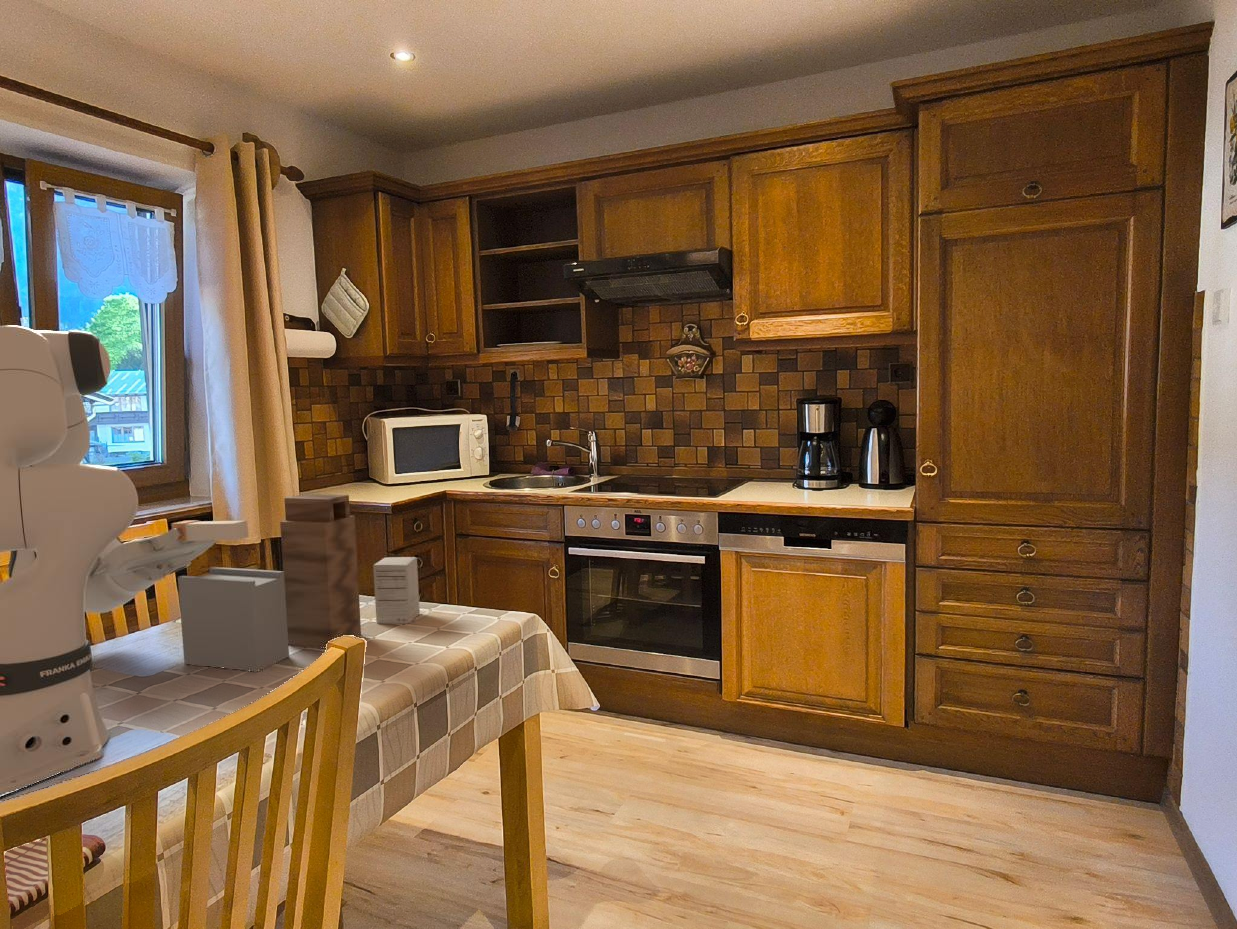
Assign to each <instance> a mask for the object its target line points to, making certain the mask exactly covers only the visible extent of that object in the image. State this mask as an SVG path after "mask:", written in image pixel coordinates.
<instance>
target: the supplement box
mask: <svg viewBox="0 0 1237 929" xmlns="http://www.w3.org/2000/svg"><path fill="white" fill-rule="evenodd" d="M372 565H373V568H372V569H373V581H374V582H373V583H374V584H373V585H374V601H375V616H376V617H375V618H376V620H375V621H376V623H377V624H411V622H412V621H413V620H414V619H415V618H416V617H417V616H418V615H419V614H420V595H419V594H420V592H419V578H418V577H419V576H418V575H419V574H418V573H419V572H418V558H417V557H415V556H398V557H397V556H396V557H395V556H393V557H392V556H391V557H383V558H382V559H381V560H379V561H377V562H376V563H374V564H372Z"/></svg>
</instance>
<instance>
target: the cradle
mask: <svg viewBox="0 0 1237 929" xmlns="http://www.w3.org/2000/svg"><path fill="white" fill-rule="evenodd" d="M208 570H209V573H207V574H206V573H205V574H203V575H200V576H193V575H191V576H190V575H179V576H177V584H178V596H179V599H178V600H179V608H180V611H179V613H180V625H181V634H182V635H181V637H182V650H183V663H184V665H187V664H192V665H191V666H196V665H197V666H199V667H205V666H211V667H210V668H214V667H224V668H230V669H229V670H232V669H239V670H238V671H241V670H248V671H247V672H250V671H255V672H254V673H258V672H259V671H258V670H261V669H263V668H265V667H267V668H269V667H271V666H273V665H275V664H276V663H275V662H277V663H279V662H281V660H282V661H284V660H286V659H288V658H290V649H289V646H290V645H288V629H287V614H286V598H285V582H284V571H283V570H268V569H267V570H266V569H254V568H252V569H251V568H235V567H222V566H221V567H219V566H211V567H209V568H208ZM287 657H288V658H287ZM285 658H286V659H285ZM283 659H284V660H283ZM278 661H279V662H278ZM274 663H275V664H274ZM272 664H273V665H272ZM270 665H271V666H270ZM268 666H269V667H268ZM265 669H266V668H265ZM249 670H250V671H249ZM263 670H264V669H263ZM257 671H258V672H257ZM261 671H262V670H261Z"/></svg>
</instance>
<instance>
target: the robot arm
mask: <svg viewBox="0 0 1237 929" xmlns="http://www.w3.org/2000/svg"><path fill="white" fill-rule="evenodd" d="M110 374H111V358H110V356H109V353H108V351H107V349H106V347H105V346H104V344H103V343H102V342H101V340H100V338H99V337H98V336H96V335H95V334H94V333H92V332H89V331H83V330H76V329H69V330H68V331H60V330H59V331H58V330H57V331H55V330H54V331H53V330H34V329H31V328H28V327H26V326H25V327H24V326H22V325H21V326H20V325H13V324H11V325H10V324H9V325H8V324H7V325H0V553H3V552H10V557H9V562H8V570H7V572H8V578H7V579H5V580H3V581H1V582H0V795H2V794H5V793H6V792H11V791H15V790H16V789H20V788H23V787H25V786H28V785H29V784H33V783H35V782H37V781H41V780H44V779H45V778H47V777H50V776H52V775H55V774H57V773H59V772H63V771H66V772H68V771H69V770H68V769H71V768H73V769H75V768H74V767H76V766H78V767H80V766H79V765H81V766H83V765H85V764H84V763H86V764H88V763H91V762H93V761H95V759H96V760H98V759H100V758H101V757H103V755H104V749H103V747H104V746H105V744H106V743H107V742H108V741H109V738H110V733H109V731H108V729H107V727H106V725H105V723H104V721H103V718H102V716H101V713H100V709H99V706H98V703H97V700H96V699H97V698H96V696H95V691H94V687H93V682H92V675H91V673H92V667H93V656H92V654H93V653H92V647H91V642H90V641H89V640H88V639H87V635H86V634H87V633H86V621H85V620H86V619H85V618H86V617H85V615H86V614H85V613H88V614H104V613H108V612H111V611H114V610H116V609H118V608H120V607H122V606H124V605H125V604H127V603H128V602H130V601H131V600H132V599H134V598H135V597H136V596H138V594H139V593H140V592H144V591H145V590H147V589H149V588H150V587H151V586H153V585H154V584H156V583H157V582H160V581H162V580H163V579H165V578H166V577H168V576H169V575H172V574H174V573H176V572H180V571H181V570H183V569H185V568H188V567H189V566H190V565H191V564H192V562H191V561H192V560H194V559H196V558H197V557H199V556H200V555H202V554H203V553H205V552H206V551H207V550H208V549H209V548H211V547H212V546H213V545H215V543H216V542H217V541H218V540H215V541H175V540H178V539H180V538H181V537H183V535H184V533H183V532H182V529H181V528H174V529H172V528H171V529H169V530H168V531H167V532H164V533H162V534H158V535H154V536H150V537H144V538H143V537H141V538H140V537H139V538H134V539H132V540H130V541H126V542H123V541H122V539H120V536H121V535H122V534H124V533H125V532H126V531H127V530H128V529H129V527H131V525H132V523H133V522H134V520H135V518H136V515H137V512H138V509H139V496H138V491H137V489H136V486H135V484H134V483H133V480H131V479H130V477H129V476H128V475H127V474H126V473H125V472H124V471H122V470H121V469H120V468H118V467H116V466H115V467H114V466H109V465H108V466H107V465H100V464H99V465H98V464H86V463H85V464H84V463H81V462H83V460H84V459H85V457H86V456H87V454H88V452H89V449H90V443H91V431H90V424H89V421H88V417H87V412H86V408H85V404H84V400H83V398H82V397H84V396H88V395H91V394H95V393H99V392H100V391H102V390H103V388H105V387H106V386H107V385H108V379H109V377H110ZM92 760H93V761H92ZM90 761H91V762H90ZM87 762H88V763H87ZM82 764H83V765H82ZM76 768H77V767H76ZM67 770H68V771H67ZM71 770H72V769H71ZM63 773H64V772H63ZM44 781H45V780H44ZM41 782H42V781H41Z"/></svg>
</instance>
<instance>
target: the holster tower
mask: <svg viewBox="0 0 1237 929" xmlns="http://www.w3.org/2000/svg"><path fill="white" fill-rule="evenodd" d="M283 499H284V513H285V514H284V515H285V520H281V521H280V522H279V524H280V526H279V527H280V528H279V529H280V539H281V554H282V556H281V557H282V558H281V560H282V571H284V582H285V598H286V614H287V629H288V644H289V646H292V645H294V647H302V648H313V647H318V648H317V649H323V647H324V649H325V647H326V644H327V643H328V641H330V640H332V639H334V638H337V637H341V636H343V635H354V636H357V637H359V636H361V635H362V623H361V622H362V621H361V607H360V605H361V604H360V591H359V590H360V589H359V587H360V584H359V568H358V553H357V552H358V551H357V548H358V547H357V530H356V517H355V515H351V513H350V512H351V511H350V510H351V509H350V495H349V494H326V493H325V494H324V493H323V494H322V493H321V494H320V493H303V494H300V495H299V494H298V495H294V496H288V497H284V498H283ZM360 634H361V635H360ZM321 647H322V648H321ZM325 650H326V649H325Z"/></svg>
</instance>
